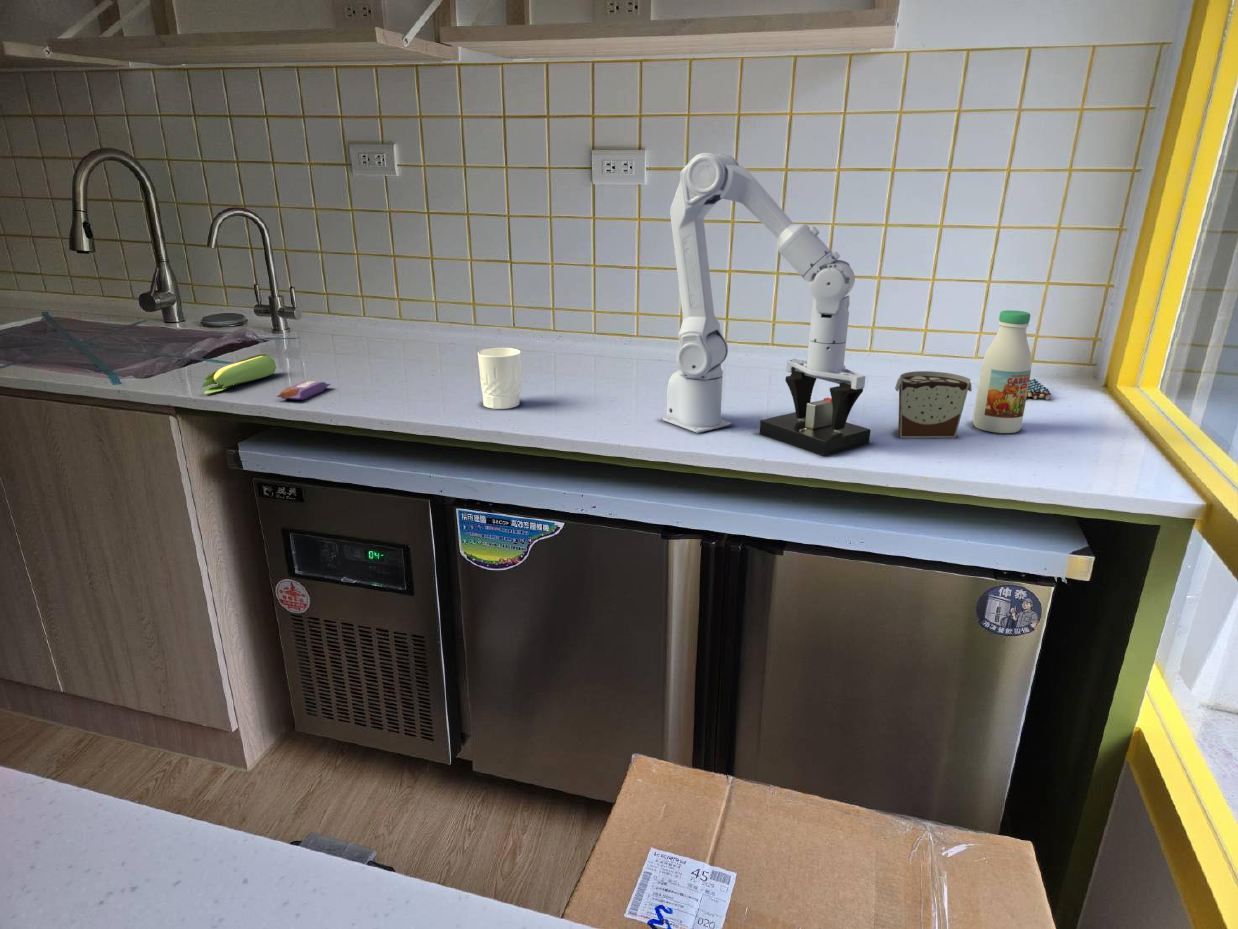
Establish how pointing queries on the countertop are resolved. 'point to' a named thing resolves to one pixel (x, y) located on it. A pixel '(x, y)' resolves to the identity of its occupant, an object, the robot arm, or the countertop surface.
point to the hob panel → (814, 435)
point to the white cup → (500, 377)
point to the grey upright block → (819, 414)
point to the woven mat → (1037, 390)
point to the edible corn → (241, 372)
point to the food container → (930, 404)
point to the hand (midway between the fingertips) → (819, 423)
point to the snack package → (303, 390)
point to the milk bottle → (1004, 376)
